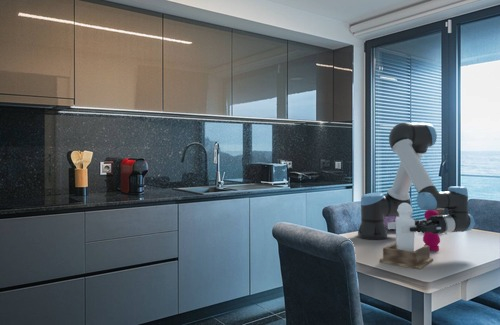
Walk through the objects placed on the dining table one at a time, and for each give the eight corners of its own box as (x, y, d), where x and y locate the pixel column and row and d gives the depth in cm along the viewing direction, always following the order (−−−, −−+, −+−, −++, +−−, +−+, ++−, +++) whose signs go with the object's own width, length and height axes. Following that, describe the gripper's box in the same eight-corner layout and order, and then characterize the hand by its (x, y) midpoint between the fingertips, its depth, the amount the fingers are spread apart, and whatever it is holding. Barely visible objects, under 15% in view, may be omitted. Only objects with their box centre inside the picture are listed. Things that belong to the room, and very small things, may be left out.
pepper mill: (433, 252, 178) (433, 207, 177) (419, 248, 184) (419, 206, 184) (443, 250, 181) (443, 206, 181) (429, 246, 187) (429, 205, 187)
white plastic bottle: (415, 258, 157) (415, 203, 157) (397, 258, 159) (397, 203, 158) (411, 254, 164) (411, 201, 163) (395, 253, 165) (395, 201, 165)
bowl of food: (406, 233, 219) (405, 212, 219) (371, 229, 232) (371, 209, 232) (417, 228, 235) (417, 208, 234) (384, 224, 248) (384, 206, 247)
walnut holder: (379, 262, 162) (379, 247, 162) (395, 254, 174) (395, 241, 174) (419, 269, 151) (419, 253, 151) (433, 260, 163) (433, 246, 163)
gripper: (460, 238, 157) (412, 242, 150) (422, 228, 177) (379, 232, 170) (460, 219, 157) (412, 222, 150) (422, 212, 176) (379, 215, 169)
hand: (395, 227), depth 160 cm, fingers closed on white plastic bottle, 8 cm apart
